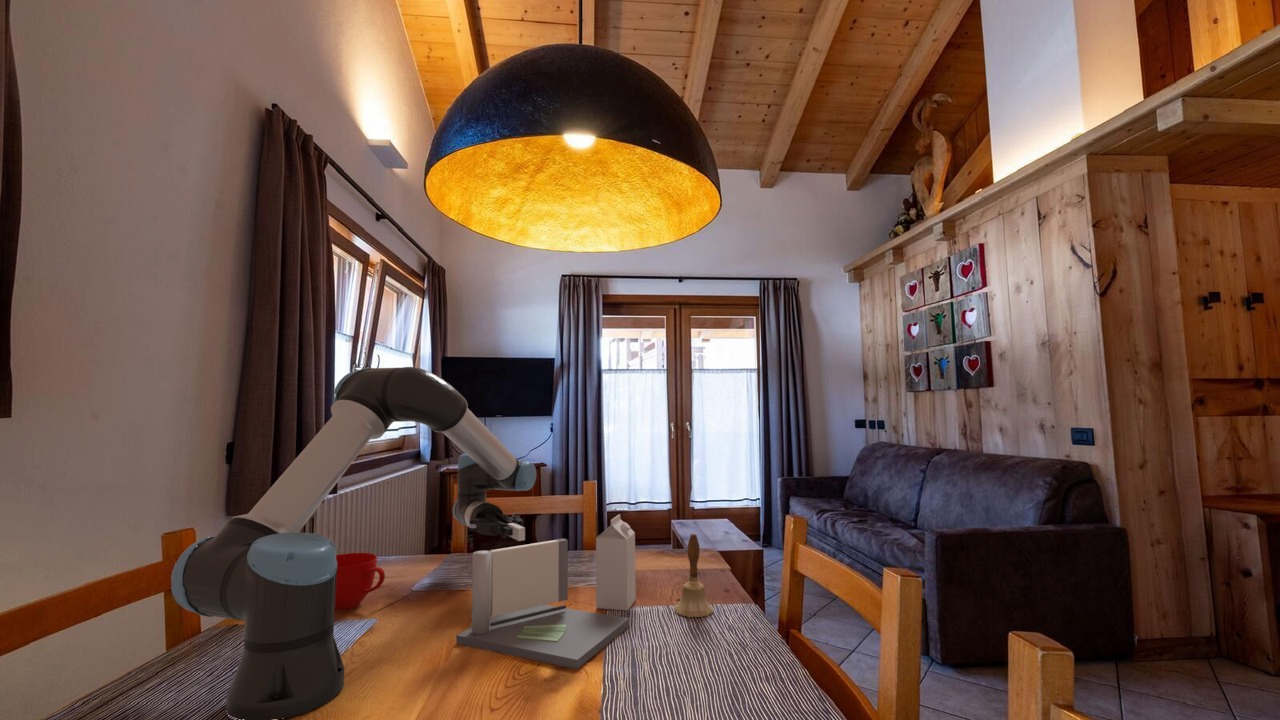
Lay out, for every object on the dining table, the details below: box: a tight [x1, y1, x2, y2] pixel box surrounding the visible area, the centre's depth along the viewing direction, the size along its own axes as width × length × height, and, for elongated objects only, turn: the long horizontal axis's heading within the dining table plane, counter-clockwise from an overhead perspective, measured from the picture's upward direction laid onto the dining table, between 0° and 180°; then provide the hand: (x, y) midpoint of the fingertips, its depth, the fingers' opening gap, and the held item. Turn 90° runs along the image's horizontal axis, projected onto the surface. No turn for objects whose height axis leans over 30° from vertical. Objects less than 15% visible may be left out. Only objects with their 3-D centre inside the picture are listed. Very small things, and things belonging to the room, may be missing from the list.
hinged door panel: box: [471, 538, 569, 635], centre depth 109 cm, size 20×3×14 cm, turn 126°
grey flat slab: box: [455, 604, 630, 670], centre depth 106 cm, size 20×26×2 cm
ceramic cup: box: [335, 552, 386, 612], centre depth 123 cm, size 13×17×10 cm
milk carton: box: [595, 513, 637, 611], centre depth 123 cm, size 7×7×19 cm
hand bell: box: [674, 533, 714, 618], centre depth 119 cm, size 8×8×16 cm
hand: (521, 534), depth 122 cm, fingers closed
